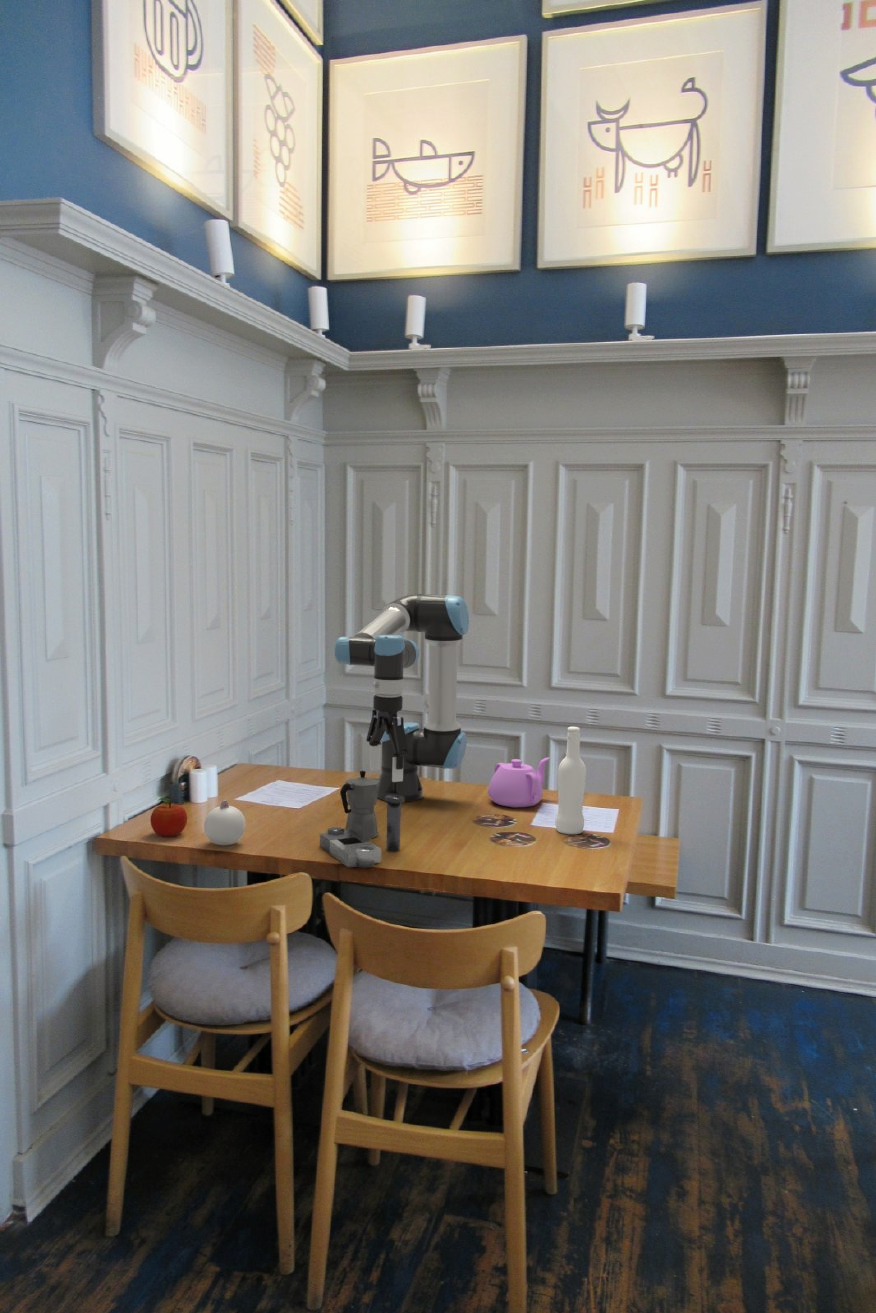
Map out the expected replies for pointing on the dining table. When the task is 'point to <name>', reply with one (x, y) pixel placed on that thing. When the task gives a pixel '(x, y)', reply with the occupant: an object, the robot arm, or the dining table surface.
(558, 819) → the bottle
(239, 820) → the ornament
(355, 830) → the coffeepot
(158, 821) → the fruit
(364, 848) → the grey slotted block
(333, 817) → the dining table surface
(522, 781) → the teapot
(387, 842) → the pin
